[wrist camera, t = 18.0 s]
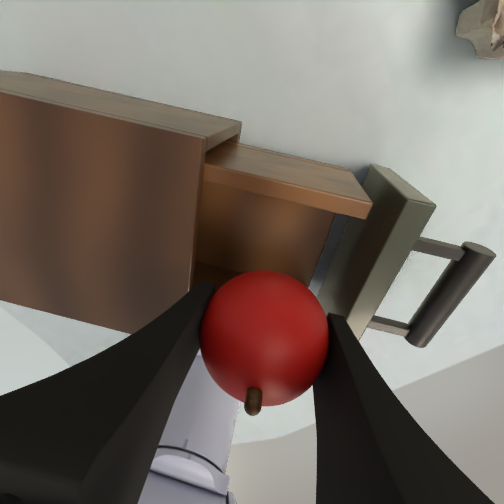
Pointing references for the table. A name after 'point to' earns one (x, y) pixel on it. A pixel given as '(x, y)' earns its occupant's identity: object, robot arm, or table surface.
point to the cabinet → (99, 199)
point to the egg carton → (484, 28)
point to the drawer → (326, 234)
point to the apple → (264, 338)
